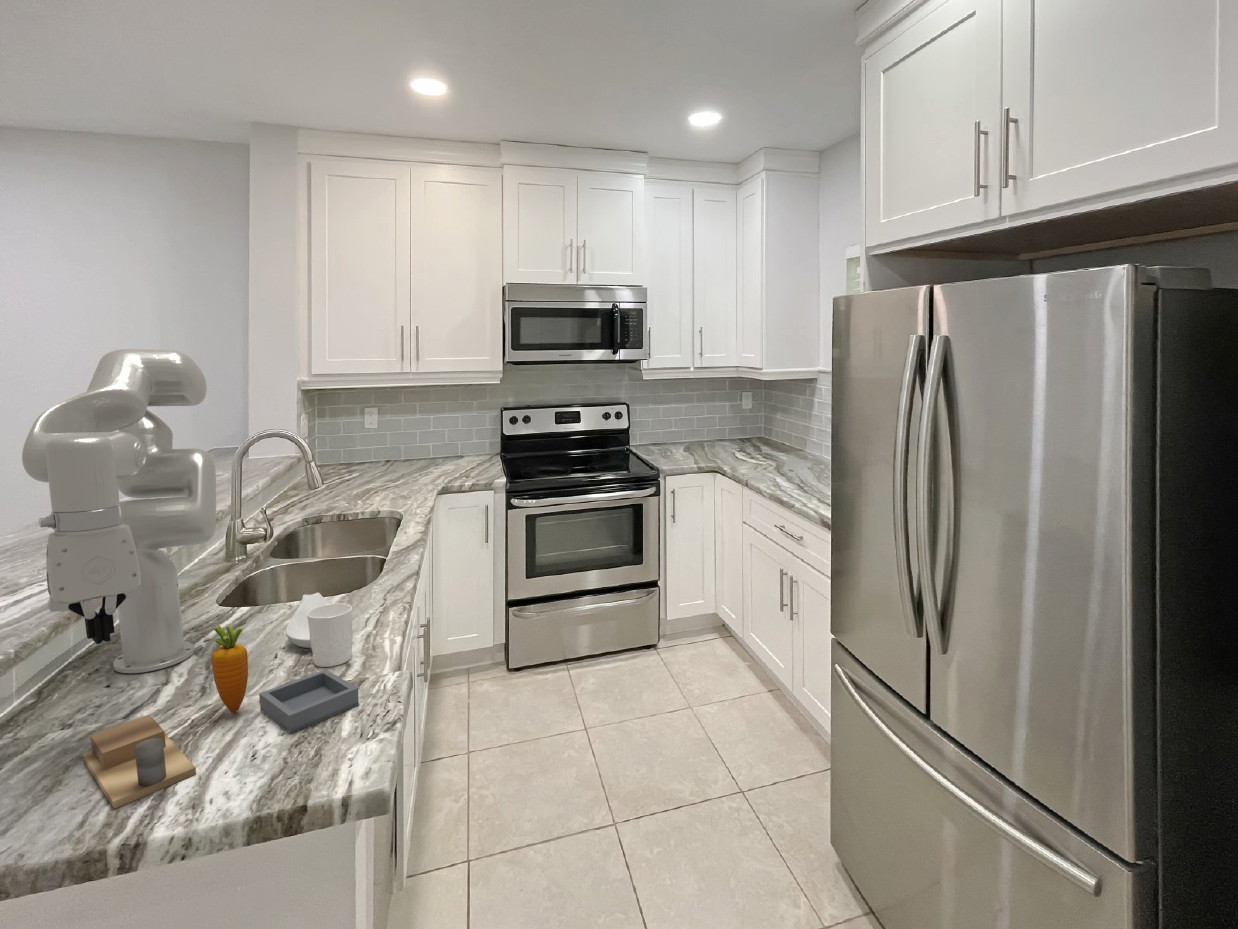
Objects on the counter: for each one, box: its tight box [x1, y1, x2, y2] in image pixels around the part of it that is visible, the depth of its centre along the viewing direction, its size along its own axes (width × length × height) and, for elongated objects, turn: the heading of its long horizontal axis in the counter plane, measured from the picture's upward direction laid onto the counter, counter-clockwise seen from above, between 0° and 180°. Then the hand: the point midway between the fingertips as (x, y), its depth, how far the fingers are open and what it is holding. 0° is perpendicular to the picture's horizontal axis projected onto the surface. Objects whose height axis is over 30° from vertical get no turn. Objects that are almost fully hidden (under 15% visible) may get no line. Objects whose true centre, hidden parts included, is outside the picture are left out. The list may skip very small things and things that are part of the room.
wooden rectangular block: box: [89, 714, 166, 770], centre depth 89 cm, size 7×7×2 cm
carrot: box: [210, 625, 249, 714], centre depth 99 cm, size 5×5×15 cm
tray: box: [258, 668, 360, 735], centre depth 102 cm, size 11×11×3 cm
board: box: [82, 733, 197, 810], centre depth 86 cm, size 16×9×6 cm, turn 51°
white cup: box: [307, 602, 353, 668], centre depth 119 cm, size 8×8×10 cm
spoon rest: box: [285, 592, 331, 649], centre depth 132 cm, size 24×12×7 cm, turn 33°
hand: (101, 640), depth 92 cm, fingers closed
